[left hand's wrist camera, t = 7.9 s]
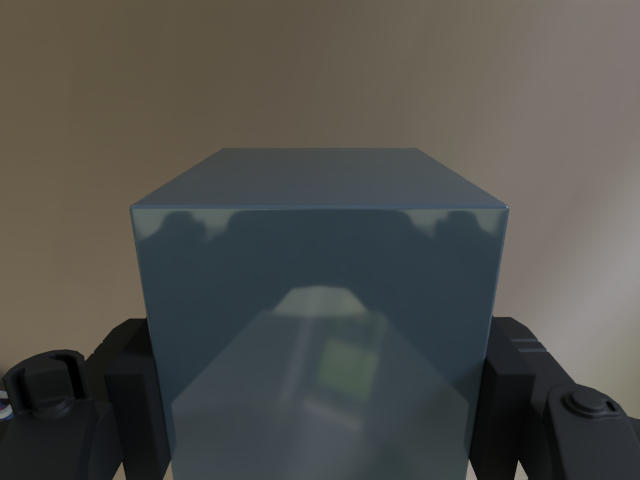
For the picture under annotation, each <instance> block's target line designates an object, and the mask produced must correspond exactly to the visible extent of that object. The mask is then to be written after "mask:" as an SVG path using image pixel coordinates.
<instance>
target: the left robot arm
mask: <svg viewBox="0 0 640 480" xmlns="http://www.w3.org/2000/svg"><path fill="white" fill-rule="evenodd" d="M2 380H3V383H4V387H5V390H6V393H7V396H8V399H9V402H10V405H11V409H12V412H13V417H12V419H8V420H4V421H0V480H112V479H113V477H114V475H115V474H116V472H117V470H118V468H119V466H120V464H121V462H123V467H124V472H125V476H126V480H163V478H164V475H165V473H166V470H167V468H168V465H169V463H170V455H169V449H168V443H167V436H166V430H165V424H164V418H163V412H162V406H161V399H160V393H159V387H158V381H157V375H156V369H155V362H154V357H153V351H152V345H151V339H150V333H149V326H148V320H147V317H146V318H145V319H128V320H126V321H125V322H123V323H122V324H120V325H118V326H117V327H115V328H114V329H113V330H112V331H111V332H110V333H109V334H108V335H107V337H106V338H105V339H104V340H103V343H101V344H100V345H99V346H98V347H97V348H96V349H95V351H94V354H91V355H90V356H89V358H88V359H87V360H86V361H85V359H84V356H83V355H82V354H80V353H79V352H78V351H73V350H67V349H65V350H53V351H49V352H45V353H41V354H37V355H35V356H33V357H30V358H28V359H26V360H23V361H22V362H20V363H19V364H17V365H16V366H14V367H13V368H11V369H10V370H9V371H8V372H7V373H6V374H5V375H4V377H3V378H2ZM469 460H470V462H471V465H472V467H473V470H474V472H475V475H476V477H477V480H514V478H515V473H516V468H517V464H518V460H519V461H520V463H521V465H522V467H523V469H524V471H525V473H526V475H527V476H528V480H640V419H635V418H631V417H628V416H627V414H626V413H625V412H624V410H623V409H622V408H621V406H620V405H619V404H618V403H616V402H615V401H614V400H613V399H611V398H610V397H609V396H607V395H605V394H603V393H601V392H599V391H597V390H595V389H593V388H590V387H586V386H583V385H579V384H576V383H575V382H574V381H573V380H572V379H571V377H570V376H569V375H568V374H567V373H566V372H565V370H564V369H563V368H562V367H561V366H560V365H559V363H558V362H557V361H556V360H555V359H554V358H553V356H552V355H551V354H550V353H549V352H547V351H546V348H545V347H544V346H543V345H542V344H541V343H540V342H538V339H537V338H536V337H535V336H534V334H533V333H532V332H531V331H530V330H529V329H528V328H527V327H526V326H524V325H523V324H521V323H519V322H518V321H516V320H515V319H513V318H511V317H493V315H492V319H491V325H490V331H489V338H488V344H487V350H486V356H485V362H484V369H483V375H482V381H481V387H480V393H479V400H478V406H477V412H476V418H475V424H474V431H473V437H472V443H471V449H470V455H469Z"/></svg>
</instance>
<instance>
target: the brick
mask: <svg viewBox="0 0 640 480" xmlns="http://www.w3.org/2000/svg"><path fill="white" fill-rule="evenodd" d="M508 214H509V207H508V205H506V204H505V203H503V202H502V201H500V200H498V199H497V198H495V197H494V196H492V195H490V194H489V193H487V192H486V191H484V190H482V189H481V188H479V187H478V186H476V185H474V184H473V183H471V182H470V181H468V180H467V179H465V178H463V177H462V176H460V175H459V174H457V173H455V172H454V171H452V170H451V169H449V168H447V167H446V166H444V165H443V164H441V163H439V162H438V161H436V160H435V159H433V158H432V157H430V156H428V155H427V154H425V153H424V152H422V151H420V150H419V149H417V148H222V149H221V150H219V151H217V152H216V153H214V154H213V155H211V156H209V157H208V158H206V159H204V160H203V161H201V162H200V163H198V164H196V165H195V166H193V167H192V168H190V169H188V170H187V171H185V172H184V173H182V174H180V175H179V176H177V177H176V178H174V179H172V180H171V181H169V182H168V183H166V184H164V185H163V186H161V187H160V188H158V189H156V190H155V191H153V192H152V193H150V194H148V195H147V196H145V197H144V198H142V199H140V200H139V201H137V202H136V203H134V204H132V205H131V206H130V216H131V222H132V228H133V234H134V240H135V246H136V253H137V259H138V265H139V271H140V277H141V283H142V290H143V296H144V302H145V308H146V314H147V320H148V326H149V333H150V339H151V345H152V351H153V357H154V362H155V369H156V375H157V381H158V387H159V393H160V399H161V406H162V412H163V418H164V424H165V430H166V436H167V443H168V449H169V455H170V462H171V468H172V474H173V480H466V474H467V468H468V462H469V455H470V449H471V443H472V437H473V431H474V424H475V418H476V412H477V406H478V400H479V393H480V387H481V381H482V375H483V369H484V362H485V356H486V350H487V344H488V338H489V331H490V325H491V319H492V313H493V307H494V300H495V294H496V288H497V282H498V276H499V269H500V263H501V257H502V251H503V245H504V238H505V232H506V226H507V220H508Z"/></svg>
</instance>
